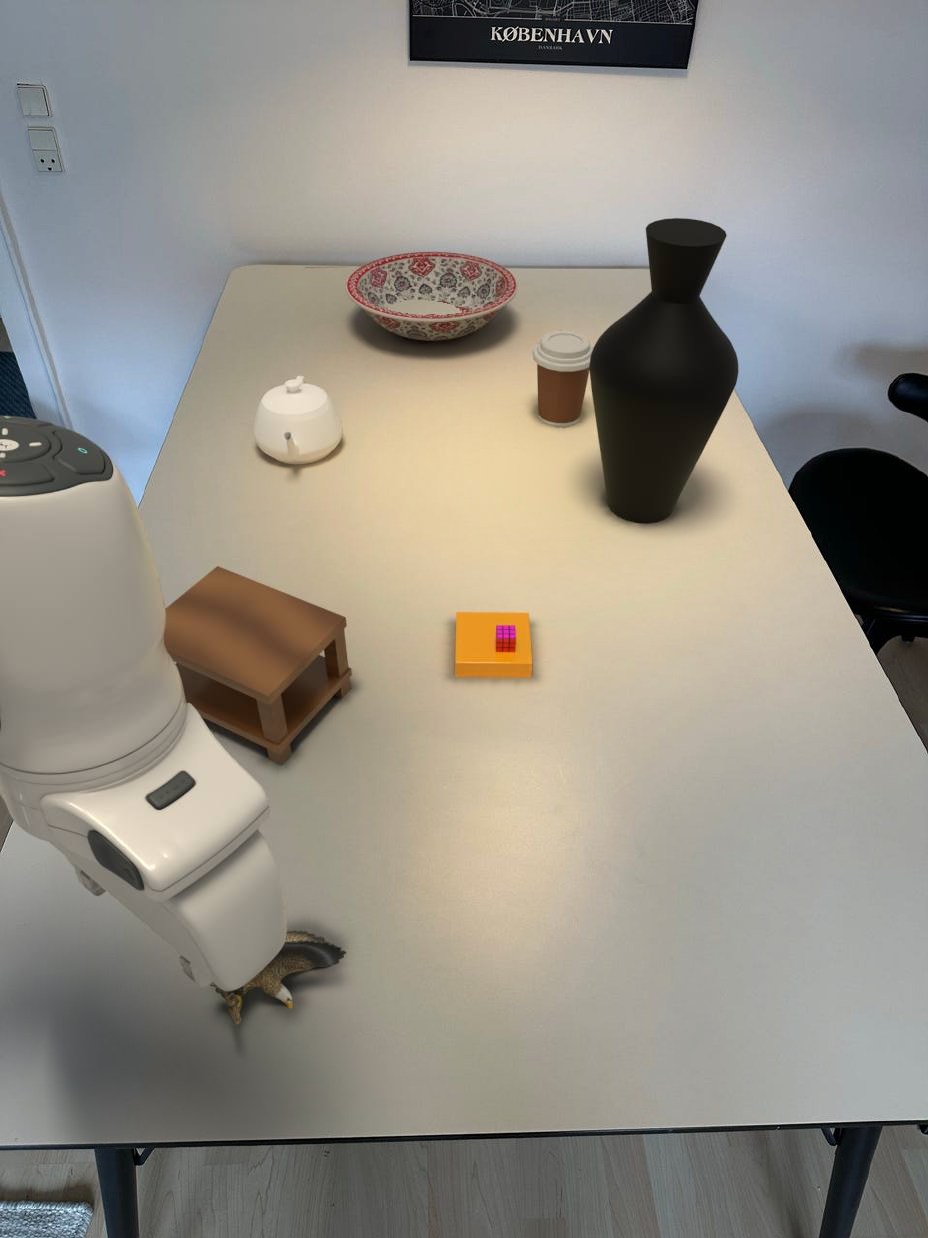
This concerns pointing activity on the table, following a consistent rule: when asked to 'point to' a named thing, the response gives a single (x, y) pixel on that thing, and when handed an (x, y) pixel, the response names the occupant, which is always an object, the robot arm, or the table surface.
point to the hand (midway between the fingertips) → (151, 925)
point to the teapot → (297, 423)
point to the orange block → (493, 645)
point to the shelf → (256, 657)
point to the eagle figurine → (285, 969)
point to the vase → (662, 376)
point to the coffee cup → (562, 376)
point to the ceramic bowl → (432, 292)
